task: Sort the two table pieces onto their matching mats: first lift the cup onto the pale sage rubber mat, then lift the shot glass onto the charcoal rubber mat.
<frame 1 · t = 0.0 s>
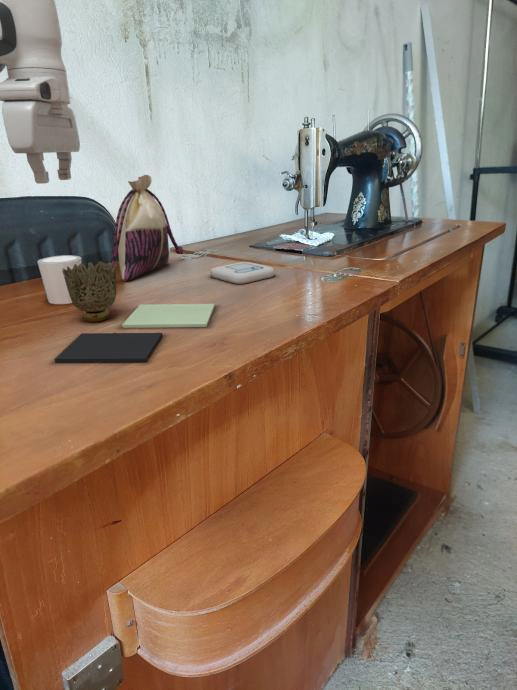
hand: (54, 181, 89), 19 cm above the table, tool pointing down, fingers open, 8 cm apart
shot glass: (66, 300, 88), on the table
cup: (97, 320, 77), on the table
sage mat: (171, 316, 77), on the table
charcoal mat: (112, 348, 65), on the table
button: (242, 277, 100), on the table
pouch: (147, 273, 106), on the table
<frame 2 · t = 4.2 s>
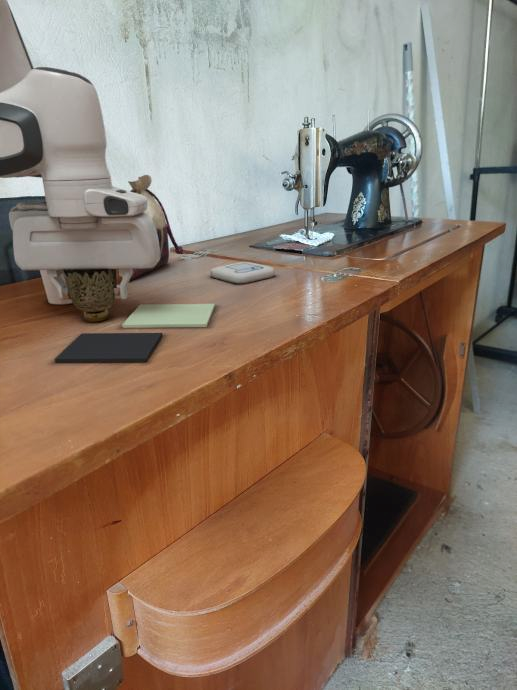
hand: (94, 298, 76), 3 cm above the table, tool pointing down, fingers closed on cup, 7 cm apart
cup: (97, 320, 77), on the table, touching gripper
everything else where it was.
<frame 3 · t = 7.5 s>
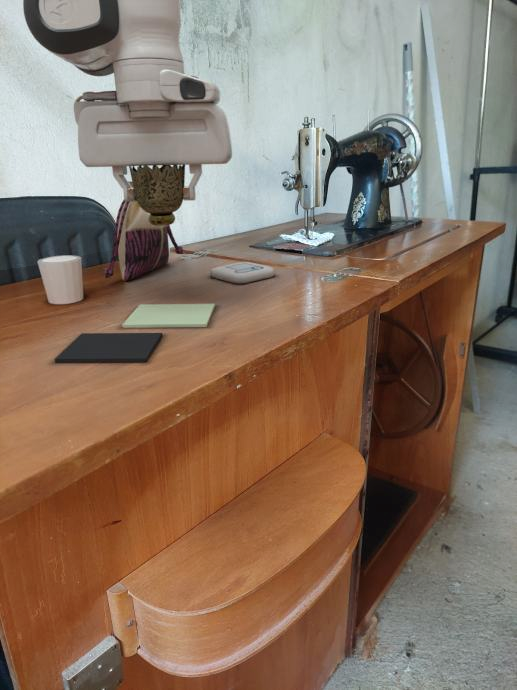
hand: (160, 200, 71), 17 cm above the table, tool pointing down, fingers closed on cup, 7 cm apart
cup: (162, 225, 73), point 13 cm above the table, touching gripper
everything else where it was.
when the fingers open (4 cm above the table, at t = 11.0 s): cup stays where it is, resting on sage mat.
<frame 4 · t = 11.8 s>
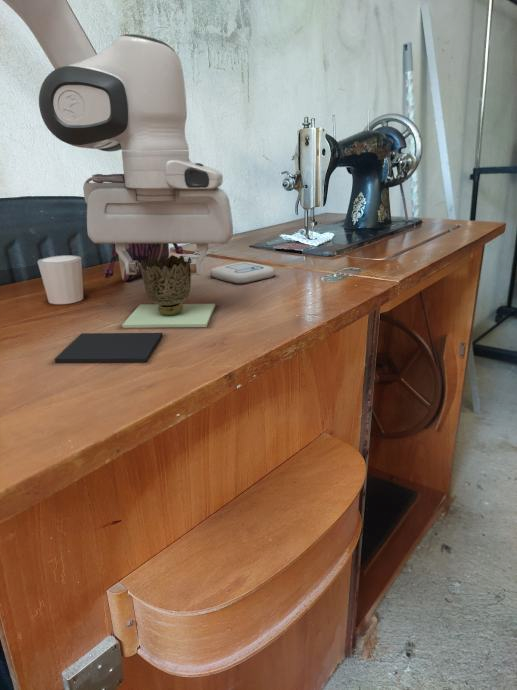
hand: (164, 274, 75), 7 cm above the table, tool pointing down, fingers open, 8 cm apart
cup: (171, 314, 77), resting on sage mat, touching gripper
everything else where it was.
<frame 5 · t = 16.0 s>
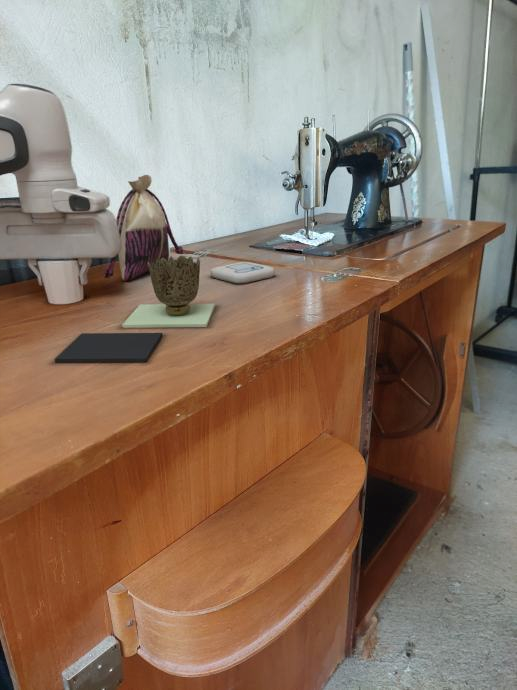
hand: (64, 284, 87), 3 cm above the table, tool pointing down, fingers closed on shot glass, 5 cm apart
shot glass: (66, 300, 88), on the table, touching gripper
cup: (178, 314, 77), resting on sage mat
everything else where it was.
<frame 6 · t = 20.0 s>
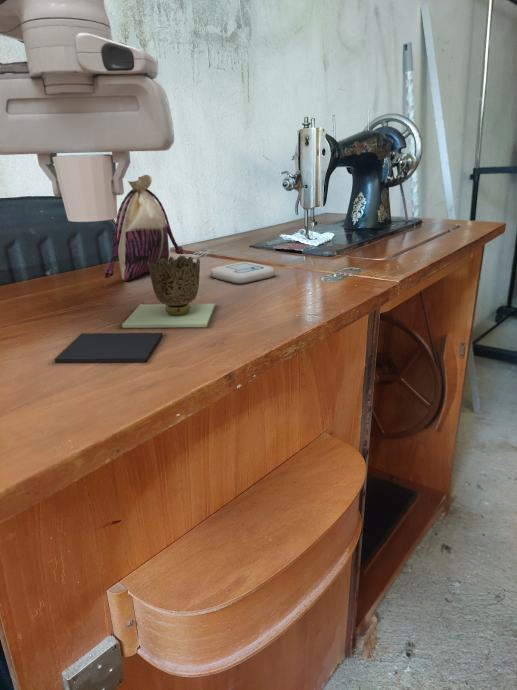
hand: (89, 195, 60), 19 cm above the table, tool pointing down, fingers closed on shot glass, 5 cm apart
shot glass: (93, 220, 61), point 16 cm above the table, touching gripper
everything else where it was.
when the fingers open (3 cm above the table, at t = 23.9 s): shot glass stays where it is, resting on charcoal mat.
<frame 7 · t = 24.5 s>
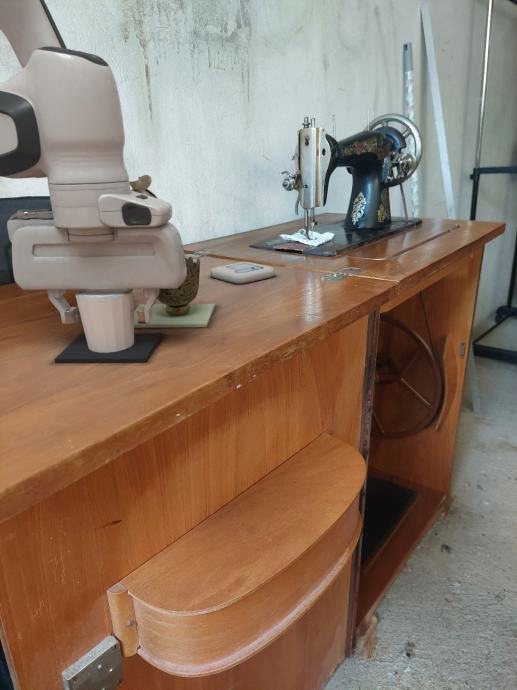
hand: (108, 322, 64), 3 cm above the table, tool pointing down, fingers open, 8 cm apart
shot glass: (111, 345, 65), resting on charcoal mat
everything else where it was.
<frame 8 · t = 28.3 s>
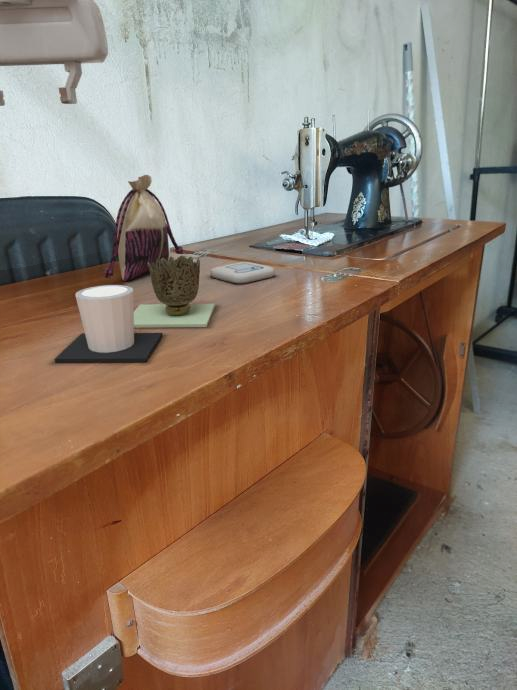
hand: (32, 104, 66), 29 cm above the table, tool pointing down, fingers open, 8 cm apart
nothing on the table moved.
at the end: cup inside the target area (1.1 cm from its centre), resting on sage mat; shot glass inside the target area (0.2 cm from its centre), resting on charcoal mat; shot glass tilted 0° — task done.
